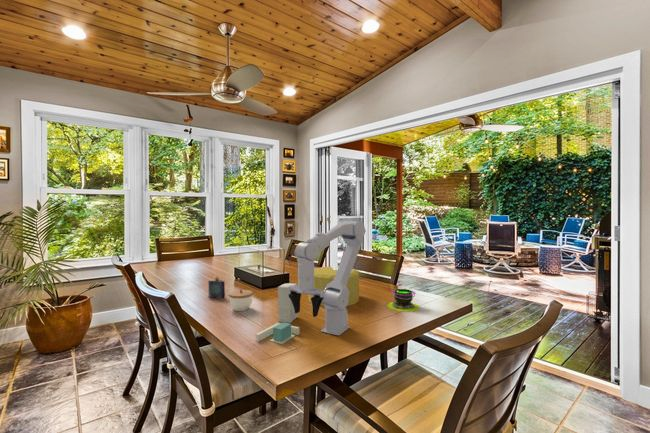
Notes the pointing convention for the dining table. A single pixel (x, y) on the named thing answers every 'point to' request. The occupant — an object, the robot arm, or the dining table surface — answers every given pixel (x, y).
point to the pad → (284, 340)
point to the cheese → (327, 276)
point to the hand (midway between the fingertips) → (306, 314)
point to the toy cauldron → (403, 300)
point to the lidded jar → (240, 299)
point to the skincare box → (285, 304)
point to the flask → (216, 288)
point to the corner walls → (269, 332)
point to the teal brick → (282, 331)
